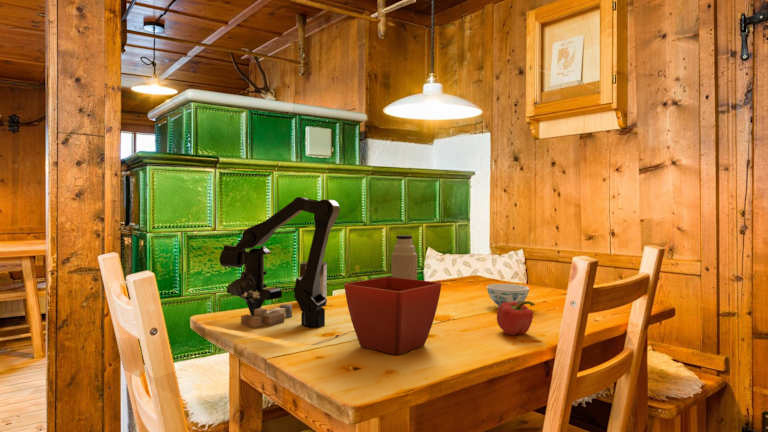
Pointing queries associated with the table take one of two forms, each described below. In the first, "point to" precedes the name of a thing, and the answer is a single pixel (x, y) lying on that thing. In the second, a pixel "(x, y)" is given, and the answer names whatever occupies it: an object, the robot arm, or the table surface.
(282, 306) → the leg
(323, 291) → the coffee box
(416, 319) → the plant pot
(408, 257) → the thermos bottle
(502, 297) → the chinaware
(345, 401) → the table surface
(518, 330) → the vegetable
